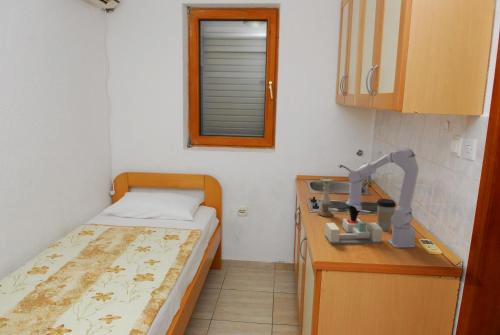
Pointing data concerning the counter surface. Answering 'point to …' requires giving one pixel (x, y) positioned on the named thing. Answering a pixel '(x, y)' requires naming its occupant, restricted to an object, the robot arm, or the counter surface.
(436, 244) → the counter surface
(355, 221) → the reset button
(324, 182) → the candle holder
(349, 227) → the box
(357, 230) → the carriage
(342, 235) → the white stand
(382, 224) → the coffee cup
